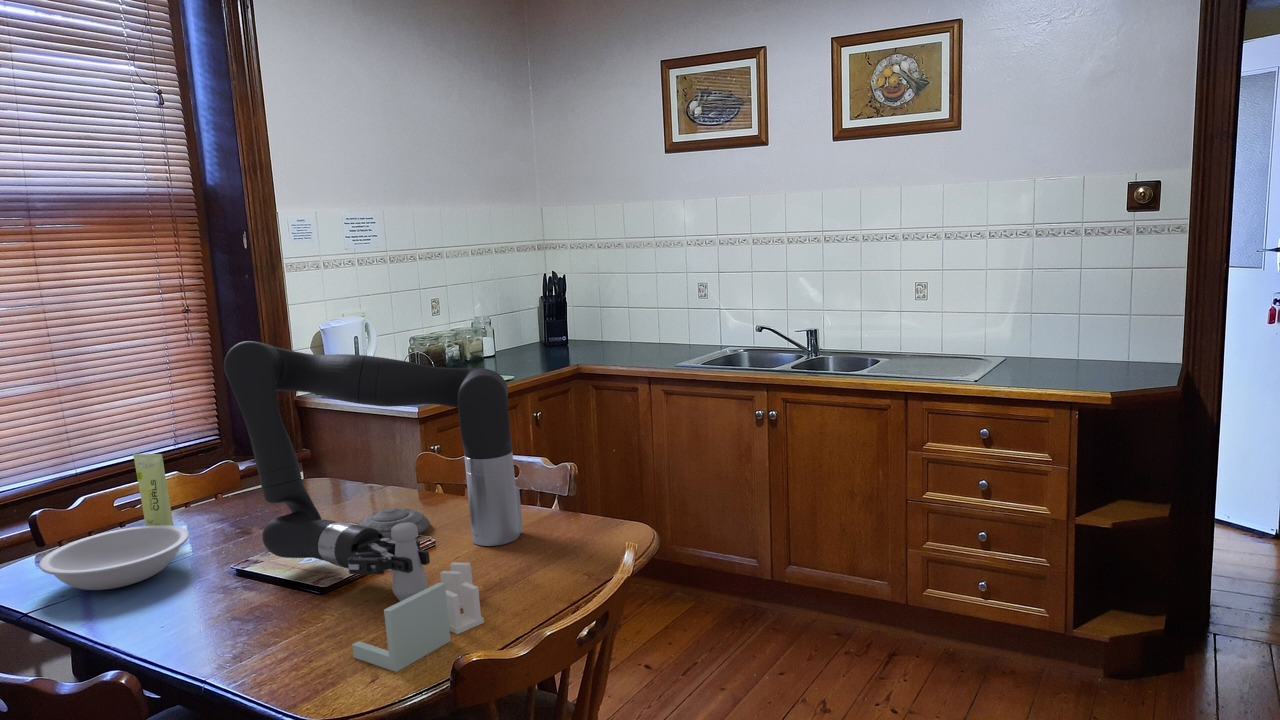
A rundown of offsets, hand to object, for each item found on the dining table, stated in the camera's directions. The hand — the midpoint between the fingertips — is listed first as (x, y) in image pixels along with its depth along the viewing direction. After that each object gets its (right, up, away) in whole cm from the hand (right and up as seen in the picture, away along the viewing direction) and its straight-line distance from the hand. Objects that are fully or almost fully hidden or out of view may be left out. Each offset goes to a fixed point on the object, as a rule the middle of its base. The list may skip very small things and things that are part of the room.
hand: (419, 562), depth 148 cm
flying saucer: (-14, -3, +36) cm, 39 cm away
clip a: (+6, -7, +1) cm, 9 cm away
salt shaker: (-2, -7, +3) cm, 8 cm away
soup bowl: (-60, -8, +19) cm, 63 cm away
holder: (+1, -9, -15) cm, 17 cm away
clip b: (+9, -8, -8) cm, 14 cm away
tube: (-62, -5, +37) cm, 72 cm away
